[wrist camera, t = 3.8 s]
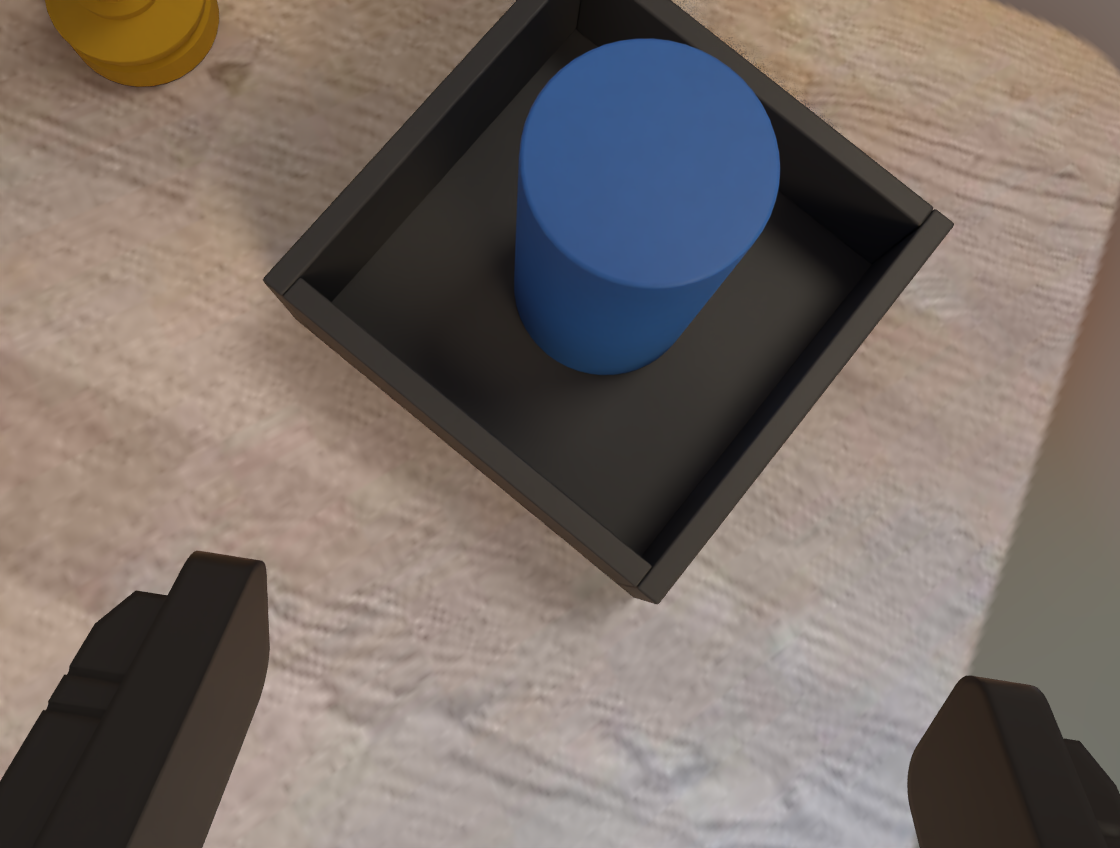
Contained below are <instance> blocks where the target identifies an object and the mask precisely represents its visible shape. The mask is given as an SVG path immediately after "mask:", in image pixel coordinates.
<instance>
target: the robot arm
mask: <svg viewBox="0 0 1120 848" xmlns="http://www.w3.org/2000/svg"><path fill="white" fill-rule="evenodd" d="M269 650H270V644H269V620H268V597H267V574H266V566H265V563H264V562H263V561H260V560H254V559H248V558H241V557H235V556H229V555H222V554H216V553H210V552H203V551H195V552H193V553H192V554H191V555H190V556H189V558H188V559H187V561H186V562H185V564H184V566H183V568H182V569H181V571H180V573H179V575H178V577H177V579H176V581H175V582H174V584H173V586H172V588H171V590H170V592H169V594H168V595H161V594H154V593H148V592H142V591H135V592H133V593H132V594H131V595H130V596H128V597H127V598H126V599H125V600H124V601H122V602H121V603H120V604H119V605H117V606H116V607H115V608H114V609H112V610H111V611H110V612H109V613H108V614H106V615H105V616H104V617H103V618H101V619H100V620H99V621H98V622H97V623H95V624H94V626H93V628H92V629H91V631H90V633H89V634H88V636H87V638H86V639H85V641H84V643H83V644H82V646H81V648H80V649H79V651H78V653H77V654H76V656H75V658H74V659H73V661H72V663H71V664H70V666H69V672H68V674H67V675H64V676H63V678H62V679H61V681H60V683H59V684H58V686H57V688H56V689H55V691H54V693H53V694H52V696H51V698H50V699H49V701H48V707H47V709H46V710H43V711H42V713H41V714H40V716H39V718H38V719H37V721H36V723H35V724H34V726H33V728H32V729H31V731H30V733H29V734H28V736H27V737H26V739H25V741H24V742H23V744H22V746H21V747H20V749H19V751H18V752H17V754H16V756H15V757H14V759H13V761H12V762H11V764H10V766H9V767H8V769H7V771H6V772H5V774H4V776H3V777H2V779H1V781H0V848H202V847H203V844H204V842H205V839H206V837H207V834H208V832H209V829H210V826H211V824H212V821H213V819H214V816H215V814H216V811H217V808H218V806H219V803H220V801H221V798H222V795H223V793H224V790H225V788H226V785H227V783H228V780H229V777H230V775H231V772H232V770H233V767H234V764H235V762H236V759H237V757H238V754H239V752H240V749H241V746H242V744H243V741H244V739H245V736H246V734H247V731H248V728H249V726H250V723H251V721H252V718H253V715H254V713H255V710H256V708H257V705H258V702H259V700H260V696H261V693H262V690H263V686H264V682H265V678H266V673H267V668H268V661H269ZM907 788H908V800H909V805H910V810H911V814H912V818H913V822H914V826H915V830H916V834H917V838H918V843H919V847H920V848H1120V794H1119V791H1118V789H1117V787H1116V785H1115V784H1114V782H1113V781H1112V780H1111V779H1110V777H1109V776H1108V775H1107V774H1106V773H1105V771H1104V770H1103V769H1102V768H1101V767H1100V765H1099V764H1098V763H1097V762H1096V760H1095V759H1094V758H1093V757H1092V756H1091V754H1090V753H1089V752H1088V751H1087V750H1086V748H1085V747H1084V746H1083V744H1082V743H1081V742H1080V741H1076V740H1070V739H1063V737H1062V735H1061V732H1060V730H1059V728H1058V725H1057V723H1056V720H1055V718H1054V715H1053V713H1052V710H1051V708H1050V705H1049V703H1048V701H1047V699H1046V698H1045V696H1044V694H1043V693H1042V692H1041V691H1040V690H1039V689H1038V688H1037V687H1035V686H1031V685H1026V684H1021V683H1014V682H1008V681H1002V680H995V679H989V678H983V677H976V676H965V677H963V678H962V679H960V680H959V681H958V683H957V684H956V685H955V687H954V688H953V690H952V692H951V693H950V695H949V696H948V698H947V699H946V701H945V703H944V704H943V706H942V707H941V709H940V710H939V712H938V714H937V715H936V717H935V718H934V720H933V721H932V723H931V725H930V726H929V728H928V729H927V731H926V732H925V734H924V735H923V737H922V739H921V740H920V742H919V743H918V745H917V746H916V748H915V750H914V752H913V755H912V757H911V761H910V765H909V770H908V783H907Z"/></svg>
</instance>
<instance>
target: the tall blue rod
mask: <svg viewBox="0 0 1120 848" xmlns="http://www.w3.org/2000/svg"><path fill="white" fill-rule="evenodd" d="M779 179H780V159H779V150H778V145H777V140H776V136H775V133H774V130H773V127H772V124H771V121H770V119H769V117H768V115H767V113H766V111H765V109H764V107H763V105H762V103H761V102H760V100H759V99H758V97H757V96H756V95H755V93H754V92H753V90H752V89H751V88H750V87H749V86H748V85H747V83H746V82H745V81H744V80H743V79H742V78H741V77H740V76H739V75H738V74H736V73H735V72H734V71H733V70H732V69H731V68H730V67H728V66H727V65H725V64H724V63H722V62H721V61H720V60H718V59H717V58H715V57H713V56H711V55H709V54H707V53H705V52H703V51H702V50H699V49H696V48H694V47H691V46H688V45H686V44H682V43H678V42H674V41H669V40H661V39H629V40H622V41H617V42H613V43H609V44H605V45H602V46H600V47H597V48H595V49H592V50H590V51H588V52H586V53H584V54H583V55H581V56H579V57H577V58H575V59H574V60H572V61H571V62H570V63H568V64H567V65H566V66H564V67H563V68H562V69H560V70H559V71H558V72H557V73H556V74H555V75H554V76H553V77H552V78H551V79H550V80H549V81H548V83H547V84H546V85H545V86H544V88H543V89H542V90H541V92H540V93H539V94H538V96H537V98H536V100H535V101H534V103H533V105H532V107H531V108H530V111H529V113H528V116H527V118H526V121H525V124H524V128H523V132H522V136H521V141H520V150H519V168H518V193H517V219H516V245H515V271H514V295H515V301H516V306H517V309H518V313H519V316H520V318H521V320H522V323H523V325H524V327H525V329H526V330H527V332H528V333H529V335H530V337H531V338H532V339H533V340H534V342H535V343H536V344H537V345H538V346H539V347H540V348H541V349H542V350H543V351H544V352H545V353H546V354H547V355H549V356H550V357H552V358H553V359H554V360H556V361H557V362H559V363H561V364H563V365H565V366H567V367H569V368H572V369H574V370H577V371H580V372H584V373H589V374H596V375H616V374H622V373H627V372H631V371H634V370H637V369H640V368H642V367H644V366H646V365H648V364H650V363H652V362H653V361H655V360H657V359H658V358H659V357H660V356H662V355H663V354H664V353H665V352H667V350H668V349H669V348H670V347H671V346H672V345H673V344H674V343H675V342H676V340H677V339H678V338H679V337H680V335H681V334H682V333H683V332H684V330H685V329H686V328H687V327H688V325H689V324H690V323H691V322H692V320H693V319H694V318H695V317H696V315H697V314H698V313H699V312H700V310H701V309H702V308H703V307H704V305H705V304H706V303H707V302H708V300H709V299H710V298H711V297H712V295H713V294H714V293H715V292H716V290H717V289H718V288H719V287H720V285H721V284H722V283H723V282H724V280H725V279H726V278H727V277H728V275H729V274H730V273H731V272H732V270H733V269H734V268H735V267H736V265H737V264H738V263H739V262H740V260H741V259H742V258H743V257H744V255H745V254H746V253H747V252H748V250H749V249H750V248H751V247H752V245H753V244H754V243H755V241H756V240H757V238H758V237H759V236H760V234H761V233H762V231H763V230H764V228H765V226H766V224H767V222H768V220H769V218H770V216H771V213H772V210H773V208H774V205H775V202H776V198H777V193H778V188H779Z"/></svg>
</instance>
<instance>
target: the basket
mask: <svg viewBox="0 0 1120 848" xmlns="http://www.w3.org/2000/svg"><path fill="white" fill-rule="evenodd" d="M629 39H661V40H669V41H674V42H678V43H682V44H686V45H688V46H691V47H694V48H696V49H699V50H702V51H703V52H705V53H707V54H709V55H711V56H713V57H715V58H717V59H718V60H720V61H721V62H722V63H724V64H725V65H727V66H728V67H730V68H731V69H732V70H733V71H734V72H735V73H736V74H738V75H739V76H740V77H741V78H742V79H743V80H744V81H745V82H746V83H747V85H748V86H749V87H750V88H751V89H752V90H753V92H754V93H755V95H756V96H757V97H758V99H759V100H760V102H761V103H762V105H763V107H764V109H765V111H766V113H767V115H768V117H769V119H770V121H771V124H772V127H773V130H774V133H775V136H776V140H777V145H778V150H779V159H780V179H779V188H778V193H777V198H776V202H775V205H774V208H773V210H772V213H771V216H770V218H769V220H768V222H767V224H766V226H765V228H764V230H763V231H762V233H761V234H760V236H759V237H758V238H757V240H756V241H755V243H754V244H753V245H752V247H751V248H750V249H749V250H748V252H747V253H746V254H745V255H744V257H743V258H742V259H741V260H740V262H739V263H738V264H737V265H736V267H735V268H734V269H733V270H732V272H731V273H730V274H729V275H728V277H727V278H726V279H725V280H724V282H723V283H722V284H721V285H720V287H719V288H718V289H717V290H716V292H715V293H714V294H713V295H712V297H711V298H710V299H709V300H708V302H707V303H706V304H705V305H704V307H703V308H702V309H701V310H700V312H699V313H698V314H697V315H696V317H695V318H694V319H693V320H692V322H691V323H690V324H689V325H688V327H687V328H686V329H685V330H684V332H683V333H682V334H681V335H680V337H679V338H678V339H677V340H676V342H675V343H674V344H673V345H672V346H671V347H670V348H669V349H668V350H667V352H665V353H664V354H663V355H662V356H660V357H659V358H658V359H657V360H655V361H653V362H652V363H650V364H648V365H646V366H644V367H642V368H640V369H637V370H634V371H631V372H627V373H622V374H616V375H596V374H589V373H584V372H580V371H577V370H574V369H572V368H569V367H567V366H565V365H563V364H561V363H559V362H557V361H556V360H554V359H553V358H552V357H550V356H549V355H547V354H546V353H545V352H544V351H543V350H542V349H541V348H540V347H539V346H538V345H537V344H536V343H535V342H534V340H533V339H532V338H531V337H530V335H529V333H528V332H527V330H526V329H525V327H524V325H523V323H522V320H521V318H520V316H519V313H518V309H517V306H516V301H515V295H514V271H515V245H516V219H517V193H518V168H519V150H520V141H521V136H522V132H523V128H524V124H525V121H526V118H527V116H528V113H529V111H530V108H531V107H532V105H533V103H534V101H535V100H536V98H537V96H538V94H539V93H540V92H541V90H542V89H543V88H544V86H545V85H546V84H547V83H548V81H549V80H550V79H551V78H552V77H553V76H554V75H555V74H556V73H557V72H558V71H559V70H560V69H562V68H563V67H564V66H566V65H567V64H568V63H570V62H571V61H572V60H574V59H575V58H577V57H579V56H581V55H583V54H584V53H586V52H588V51H590V50H592V49H595V48H597V47H600V46H602V45H605V44H609V43H613V42H617V41H622V40H629ZM932 210H933V207H932V206H931V205H930V204H929V203H927V202H926V201H925V200H923V199H922V198H921V197H920V196H918V195H917V194H916V193H915V192H913V191H912V190H911V189H910V188H908V187H907V186H906V185H904V184H903V183H902V182H901V181H899V180H898V179H897V178H896V177H894V176H893V175H892V174H890V173H889V172H888V171H887V170H885V169H884V168H883V167H882V166H880V165H879V164H878V163H877V162H875V161H874V160H873V159H871V158H870V157H869V156H868V155H866V154H865V153H864V152H863V151H861V150H860V149H859V148H857V147H856V146H855V145H854V144H852V143H851V142H850V141H849V140H847V139H846V138H845V137H844V136H842V135H841V134H840V133H838V132H837V131H836V130H835V129H833V128H832V127H831V126H830V125H828V124H827V123H826V122H824V121H823V120H822V119H821V118H819V117H818V116H817V115H816V114H814V113H813V112H812V111H811V110H809V109H808V108H807V107H805V106H804V105H803V104H802V103H800V102H799V101H798V100H797V99H795V98H794V97H793V96H791V95H790V94H789V93H788V92H786V91H785V90H784V89H783V88H781V87H780V86H779V85H778V84H776V83H775V82H774V81H772V80H771V79H770V78H769V77H767V76H766V75H765V74H764V73H762V72H761V71H760V70H758V69H757V68H756V67H755V66H753V65H752V64H751V63H750V62H748V61H747V60H746V59H745V58H743V57H742V56H741V55H739V54H738V53H737V52H736V51H734V50H733V49H732V48H731V47H729V46H728V45H727V44H725V43H724V42H723V41H722V40H720V39H719V38H718V37H717V36H715V35H714V34H713V33H712V32H710V31H709V30H708V29H706V28H705V27H704V26H703V25H701V24H700V23H699V22H698V21H696V20H695V19H694V18H692V17H691V16H690V15H689V14H687V13H686V12H685V11H684V10H682V9H681V8H680V7H679V6H677V5H676V4H675V3H673V2H672V1H671V0H517V1H516V2H515V3H514V4H513V5H512V6H511V7H510V8H509V9H508V10H507V11H506V13H505V14H504V15H503V16H502V17H501V18H500V19H499V20H498V21H497V22H496V24H495V25H494V26H493V27H492V28H491V29H490V30H489V31H488V32H487V33H486V35H485V36H484V37H483V38H482V39H481V40H480V41H479V42H478V43H477V44H476V45H475V47H474V48H473V49H472V50H471V51H470V52H469V53H468V54H467V55H466V56H465V58H464V59H463V60H462V61H461V62H460V63H459V64H458V65H457V66H456V67H455V69H454V70H453V71H452V72H451V73H450V74H449V75H448V76H447V77H446V78H445V80H444V81H443V82H442V83H441V84H440V85H439V86H438V87H437V88H436V89H435V90H434V92H433V93H432V94H431V95H430V96H429V97H428V98H427V99H426V100H425V101H424V103H423V104H422V105H421V106H420V107H419V108H418V109H417V110H416V111H415V112H414V114H413V115H412V116H411V117H410V118H409V119H408V120H407V121H406V122H405V123H404V125H403V126H402V127H401V128H400V129H399V130H398V131H397V132H396V133H395V134H394V135H393V137H392V138H391V139H390V140H389V141H388V142H387V143H386V144H385V145H384V146H383V148H382V149H381V150H380V151H379V152H378V153H377V154H376V155H375V156H374V157H373V159H372V160H371V161H370V162H369V163H368V164H367V165H366V166H365V167H364V168H363V170H362V171H361V172H360V173H359V174H358V175H357V176H356V177H355V178H354V179H353V180H352V182H351V183H350V184H349V185H348V186H347V187H346V188H345V189H344V190H343V191H342V193H341V194H340V195H339V196H338V197H337V198H336V199H335V200H334V201H333V202H332V204H331V205H330V206H329V207H328V208H327V209H326V210H325V211H324V212H323V213H322V215H321V216H320V217H319V218H318V219H317V220H316V221H315V222H314V223H313V224H312V225H311V227H310V228H309V229H308V230H307V231H306V232H305V233H304V234H303V235H302V236H301V238H300V239H299V240H298V241H297V242H296V243H295V244H294V245H293V246H292V247H291V249H290V250H289V251H288V252H287V253H286V254H285V255H284V256H283V257H282V258H281V259H280V261H279V262H278V263H277V264H276V265H275V266H274V267H273V268H272V269H271V270H270V272H269V273H268V274H267V275H266V276H265V277H264V279H263V281H264V283H265V284H266V285H267V286H268V287H269V288H270V290H271V291H272V292H273V293H274V294H275V295H276V297H277V298H278V299H279V300H280V301H281V302H282V303H283V305H284V306H285V307H286V308H287V309H288V310H289V311H290V313H291V314H292V315H293V316H294V317H295V318H296V320H298V321H299V322H300V323H301V324H302V325H304V326H305V327H306V328H307V329H309V330H310V331H311V332H312V333H313V334H315V335H316V336H317V337H318V338H319V339H321V340H322V341H323V342H324V343H326V344H327V345H328V346H329V347H330V348H332V349H333V350H334V351H335V352H336V353H338V354H339V355H340V356H341V357H343V358H344V359H345V360H346V361H347V362H349V363H350V364H351V365H352V366H353V367H355V368H356V369H357V370H358V371H360V372H361V373H362V374H363V375H364V376H366V377H367V378H368V379H369V380H370V381H372V382H373V383H374V384H375V385H377V386H378V387H379V388H380V389H381V390H383V391H384V392H385V393H386V394H387V395H389V396H390V397H391V398H392V399H394V400H395V401H396V402H397V403H398V404H400V405H401V406H402V407H403V408H404V409H406V410H407V411H408V412H409V413H411V414H412V415H413V416H414V417H415V418H417V419H418V420H419V421H420V422H421V423H423V424H424V425H425V426H426V427H428V428H429V429H430V430H431V431H432V432H434V433H435V434H436V435H437V436H438V437H440V438H441V439H442V440H443V441H445V442H446V443H447V444H448V445H449V446H451V447H452V448H453V449H454V450H456V451H457V452H458V453H459V454H460V455H462V456H463V457H464V458H465V459H466V460H468V461H469V462H470V463H471V464H473V465H474V466H475V467H476V468H477V469H479V470H480V471H481V472H482V473H483V474H485V475H486V476H487V477H488V478H490V479H491V480H492V481H493V482H494V483H496V484H497V485H498V486H499V487H500V488H502V489H503V490H504V491H505V492H507V493H508V494H509V495H510V496H511V497H513V498H514V499H515V500H516V501H517V502H519V503H520V504H521V505H522V506H524V507H525V508H526V509H527V510H528V511H530V512H531V513H532V514H533V515H534V516H536V517H537V518H538V519H539V520H541V521H542V522H543V523H544V524H545V525H547V526H548V527H549V528H550V529H551V530H553V531H554V532H555V533H556V534H558V535H559V536H560V537H561V538H562V539H564V540H565V541H566V542H567V543H568V544H570V545H571V546H572V547H573V548H575V549H576V550H577V551H578V552H579V553H581V554H582V555H583V556H584V557H585V558H587V559H588V560H589V561H590V562H592V563H593V564H594V565H595V566H596V567H598V568H599V569H600V570H601V571H602V572H604V573H605V574H606V575H607V576H609V577H610V578H611V579H612V580H613V581H615V582H616V583H617V584H618V585H619V586H621V587H622V588H623V589H624V590H626V591H627V592H628V593H629V594H630V595H632V596H633V597H634V598H637V599H641V600H644V601H648V602H651V603H654V604H659V603H660V602H661V600H662V599H663V598H664V596H665V595H666V594H667V593H668V591H669V590H670V589H671V587H672V586H673V585H674V584H675V582H676V581H677V580H678V579H679V577H680V576H681V575H682V573H683V572H684V571H685V570H686V568H687V567H688V566H689V564H690V563H691V562H692V561H693V559H694V558H695V557H696V555H697V554H698V553H699V552H700V550H701V549H702V548H703V546H704V545H705V544H706V543H707V541H708V540H709V539H710V538H711V536H712V535H713V534H714V532H715V531H716V530H717V529H718V527H719V526H720V525H721V523H722V522H723V521H724V520H725V518H726V517H727V516H728V514H729V513H730V512H731V511H732V509H733V508H734V507H735V505H736V504H737V503H738V502H739V500H740V499H741V498H742V497H743V495H744V494H745V493H746V491H747V490H748V489H749V488H750V486H751V485H752V484H753V482H754V481H755V480H756V479H757V477H758V476H759V475H760V473H761V472H762V471H763V470H764V468H765V467H766V466H767V464H768V463H769V462H770V461H771V459H772V458H773V457H774V455H775V454H776V453H777V452H778V450H779V449H780V448H781V447H782V445H783V444H784V443H785V441H786V440H787V439H788V438H789V436H790V435H791V434H792V432H793V431H794V430H795V429H796V427H797V426H798V425H799V423H800V422H801V421H802V420H803V418H804V417H805V416H806V414H807V413H808V412H809V411H810V409H811V408H812V407H813V406H814V404H815V403H816V402H817V400H818V399H819V398H820V397H821V395H822V394H823V393H824V391H825V390H826V389H827V388H828V386H829V385H830V384H831V382H832V381H833V380H834V379H835V377H836V376H837V375H838V373H839V372H840V371H841V370H842V368H843V367H844V366H845V365H846V363H847V362H848V361H849V359H850V358H851V357H852V356H853V354H854V353H855V352H856V350H857V349H858V348H859V347H860V345H861V344H862V343H863V341H864V340H865V339H866V338H867V336H868V335H869V334H870V332H871V331H872V330H873V329H874V327H875V326H876V325H877V324H878V322H879V321H880V320H881V318H882V317H883V316H884V315H885V313H886V312H887V311H888V309H889V308H890V307H891V306H892V304H893V303H894V302H895V300H896V299H897V298H898V297H899V295H900V294H901V293H902V291H903V290H904V289H905V288H906V286H907V285H908V284H909V283H910V281H911V280H912V279H913V277H914V276H915V275H916V274H917V272H918V271H919V270H920V268H921V267H922V266H923V265H924V263H925V262H926V261H927V259H928V258H929V257H930V256H931V254H932V253H933V252H934V250H935V249H936V248H937V247H938V245H939V244H940V243H941V241H942V240H943V239H944V238H945V236H946V235H947V234H948V233H949V231H950V230H951V229H952V227H953V225H954V223H953V222H952V221H950V220H949V219H948V218H947V217H945V216H944V215H943V214H941V213H940V212H939V211H938V210H936V209H935V210H933V211H932Z"/></svg>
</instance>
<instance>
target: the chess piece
mask: <svg viewBox="0 0 1120 848" xmlns="http://www.w3.org/2000/svg"><path fill="white" fill-rule="evenodd" d="M45 2H46V7H47V11H48V14H49V16H50V18H51V20H52V22H53V25H54V27H55V28H56V29H57V31H58V32H59V33H60V35H61V36H62V37H63V38H64V39H65V40H66V41H67V42H68V43H69V44H70V45H71V46H72V47H73V49H74V50H75V51H76V52H77V53H78V55H79V56H80V57H81V58H82V59H83V61H84V62H85V63H86V64H87V65H88V66H90V67H91V68H92V69H93V70H94V71H95V72H96V73H98V74H100V75H102V76H103V77H105V78H107V79H109V80H111V81H114V82H117V83H120V84H123V85H130V86H137V87H142V86H155V85H160V84H164V83H168V82H170V81H173V80H175V79H178V78H180V77H182V76H183V75H185V74H186V73H188V72H189V71H191V70H192V69H194V68H195V67H196V66H197V65H198V64H199V63H200V62H201V61H202V60H203V59H204V57H205V56H206V54H207V53H208V51H209V50H210V48H211V47H212V44H213V42H214V39H215V37H216V34H217V29H218V24H219V8H218V4H217V0H45Z"/></svg>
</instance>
